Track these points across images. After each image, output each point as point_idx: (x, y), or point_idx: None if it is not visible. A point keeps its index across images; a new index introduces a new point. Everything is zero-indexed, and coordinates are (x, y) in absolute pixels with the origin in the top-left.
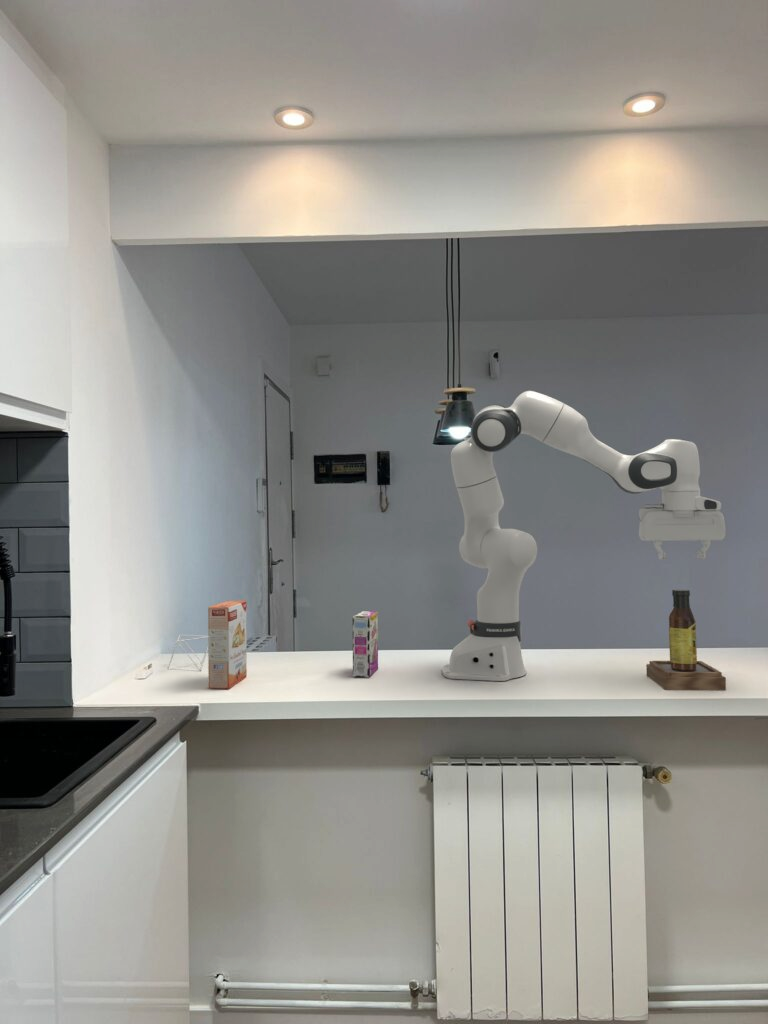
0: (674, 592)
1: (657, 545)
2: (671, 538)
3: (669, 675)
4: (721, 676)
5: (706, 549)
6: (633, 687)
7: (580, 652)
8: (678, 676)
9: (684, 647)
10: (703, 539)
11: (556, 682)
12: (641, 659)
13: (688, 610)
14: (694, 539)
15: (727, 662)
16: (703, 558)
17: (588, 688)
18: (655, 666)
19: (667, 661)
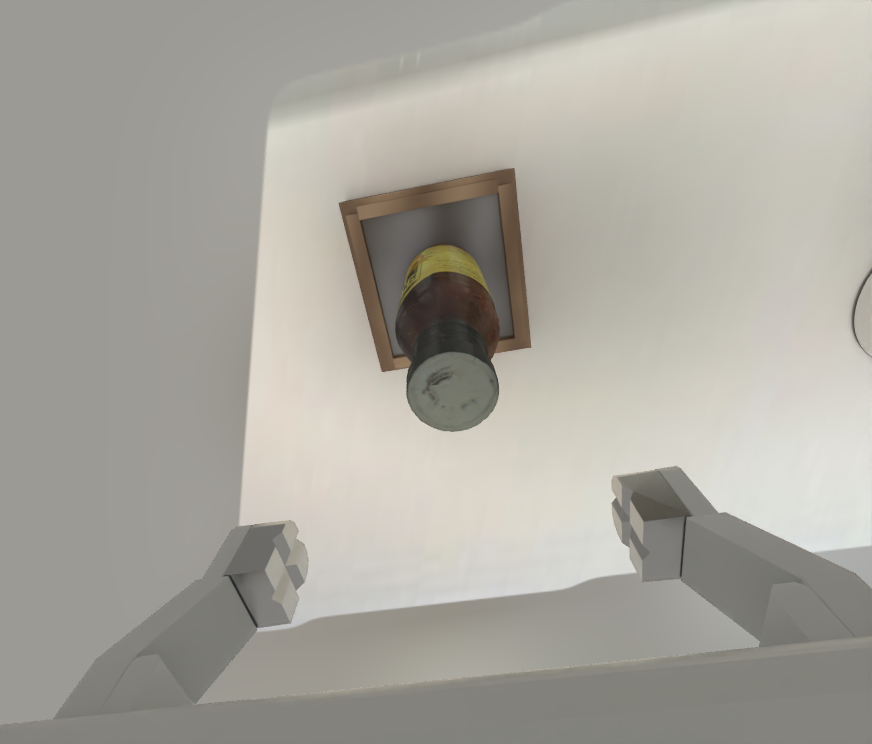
0: (491, 364)
1: (833, 573)
2: (689, 682)
3: (499, 185)
4: (348, 214)
5: (178, 602)
6: (590, 187)
7: None
8: (473, 182)
9: (446, 255)
10: (119, 716)
11: (799, 208)
12: (502, 502)
13: (423, 320)
14: (262, 705)
15: (309, 501)
16: (255, 526)
17: (726, 147)
18: (520, 285)
19: None
